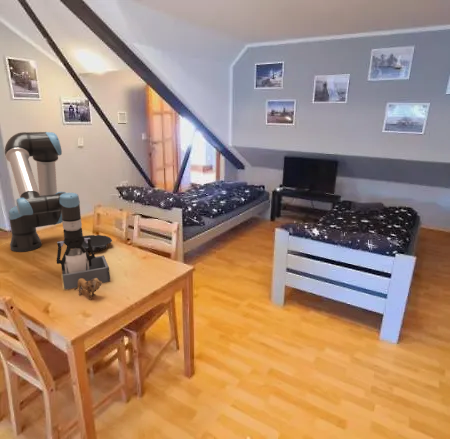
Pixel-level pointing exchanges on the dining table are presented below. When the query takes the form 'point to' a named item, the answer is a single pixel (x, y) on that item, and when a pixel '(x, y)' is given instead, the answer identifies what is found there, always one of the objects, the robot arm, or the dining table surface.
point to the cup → (76, 260)
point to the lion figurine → (89, 286)
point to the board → (97, 242)
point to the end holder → (87, 273)
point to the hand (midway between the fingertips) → (77, 274)
